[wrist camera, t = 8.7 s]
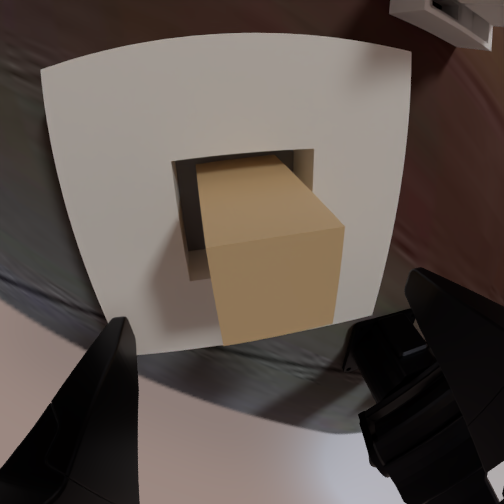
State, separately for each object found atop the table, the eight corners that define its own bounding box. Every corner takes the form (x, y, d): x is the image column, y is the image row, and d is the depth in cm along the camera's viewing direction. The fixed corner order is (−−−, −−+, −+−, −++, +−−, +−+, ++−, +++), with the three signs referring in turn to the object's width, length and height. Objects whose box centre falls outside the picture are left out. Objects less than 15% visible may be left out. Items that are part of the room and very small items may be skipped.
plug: (276, 223, 18) (332, 323, 11) (205, 234, 17) (223, 346, 10) (274, 154, 15) (345, 226, 9) (195, 164, 15) (205, 247, 8)
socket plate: (353, 287, 22) (371, 315, 19) (127, 322, 20) (123, 356, 17) (377, 51, 13) (411, 51, 11) (66, 69, 11) (40, 70, 8)
